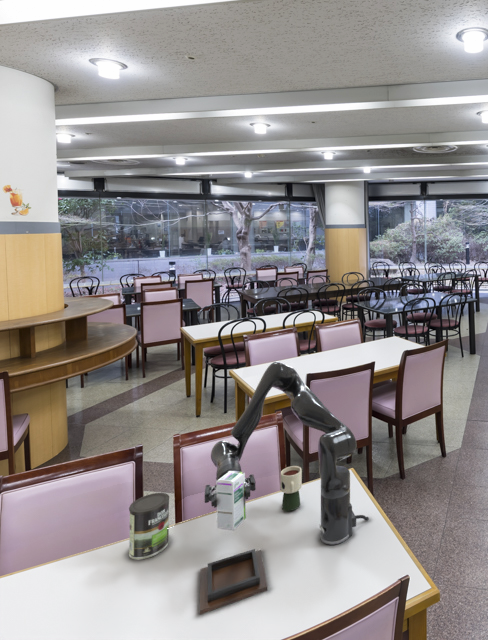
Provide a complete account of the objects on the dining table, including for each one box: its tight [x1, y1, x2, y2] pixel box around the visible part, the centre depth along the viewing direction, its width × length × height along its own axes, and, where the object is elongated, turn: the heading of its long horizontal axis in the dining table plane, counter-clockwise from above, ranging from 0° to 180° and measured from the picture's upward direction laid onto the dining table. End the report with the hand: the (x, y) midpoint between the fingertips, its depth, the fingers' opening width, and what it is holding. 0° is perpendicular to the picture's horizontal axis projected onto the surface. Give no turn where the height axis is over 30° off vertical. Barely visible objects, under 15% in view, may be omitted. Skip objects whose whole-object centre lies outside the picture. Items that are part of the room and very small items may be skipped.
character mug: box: [280, 465, 303, 512], centre depth 153 cm, size 11×7×13 cm, turn 22°
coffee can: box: [128, 492, 170, 561], centre depth 133 cm, size 10×10×14 cm
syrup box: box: [215, 471, 247, 531], centre depth 130 cm, size 6×6×14 cm
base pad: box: [199, 548, 268, 615], centre depth 119 cm, size 16×16×3 cm
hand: (231, 500), depth 128 cm, fingers closed on syrup box, 8 cm apart
